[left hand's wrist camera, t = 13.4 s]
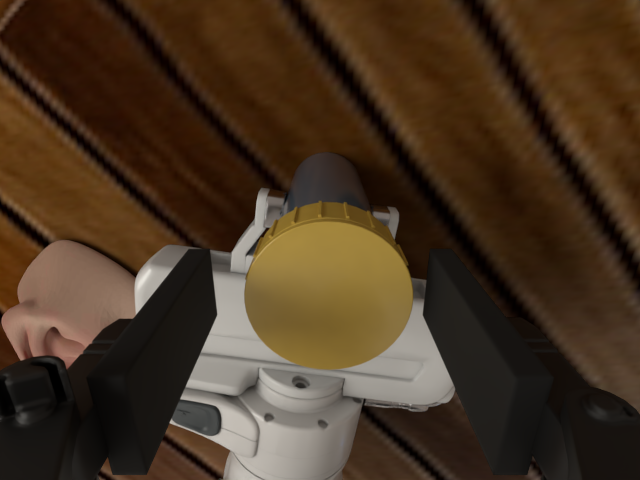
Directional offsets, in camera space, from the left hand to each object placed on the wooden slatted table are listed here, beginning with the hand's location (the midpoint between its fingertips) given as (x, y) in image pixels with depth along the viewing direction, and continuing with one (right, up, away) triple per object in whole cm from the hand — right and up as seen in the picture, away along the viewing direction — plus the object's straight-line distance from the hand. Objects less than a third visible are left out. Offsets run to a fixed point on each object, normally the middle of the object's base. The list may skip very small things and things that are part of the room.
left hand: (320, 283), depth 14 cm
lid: (0, 0, -1) cm, 1 cm away
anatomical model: (-19, -5, +18) cm, 27 cm away
